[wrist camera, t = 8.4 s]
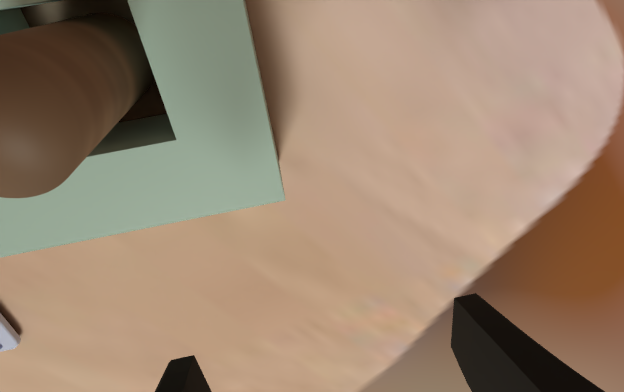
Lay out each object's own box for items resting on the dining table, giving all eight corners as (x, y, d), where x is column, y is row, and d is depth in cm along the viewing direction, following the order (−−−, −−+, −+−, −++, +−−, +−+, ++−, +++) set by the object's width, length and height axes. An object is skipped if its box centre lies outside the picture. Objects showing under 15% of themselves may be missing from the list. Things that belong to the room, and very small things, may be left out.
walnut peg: (92, 108, 15) (-33, 213, 9) (47, 25, 14) (-151, 71, 7) (169, 89, 15) (107, 177, 9) (134, 3, 14) (22, 28, 7)
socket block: (40, 209, 17) (-4, 257, 14) (-144, -90, 12) (-282, -114, 9) (278, 162, 18) (285, 200, 15) (214, -145, 12) (203, -185, 9)
